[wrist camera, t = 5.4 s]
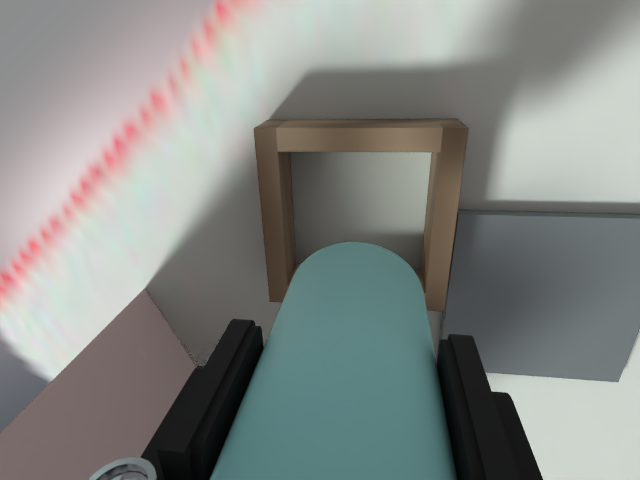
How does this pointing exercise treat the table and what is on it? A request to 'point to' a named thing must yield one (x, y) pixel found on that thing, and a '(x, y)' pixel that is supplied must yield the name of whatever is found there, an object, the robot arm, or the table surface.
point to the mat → (546, 291)
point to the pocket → (361, 137)
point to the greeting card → (100, 401)
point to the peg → (344, 379)
